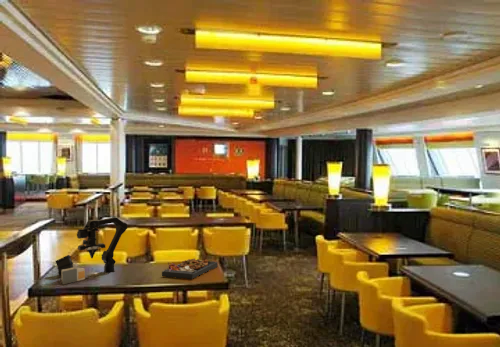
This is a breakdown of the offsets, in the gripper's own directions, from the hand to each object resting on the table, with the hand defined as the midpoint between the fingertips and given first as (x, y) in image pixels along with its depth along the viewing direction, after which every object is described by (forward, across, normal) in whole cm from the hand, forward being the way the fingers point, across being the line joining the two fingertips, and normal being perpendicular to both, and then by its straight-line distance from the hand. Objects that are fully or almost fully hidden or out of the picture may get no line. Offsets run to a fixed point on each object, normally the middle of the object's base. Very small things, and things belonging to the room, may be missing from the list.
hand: (91, 258), depth 367 cm
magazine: (+12, +17, -9) cm, 23 cm away
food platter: (+13, -65, +33) cm, 74 cm away
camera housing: (+12, +16, +8) cm, 22 cm away
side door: (+12, +21, +17) cm, 29 cm away
